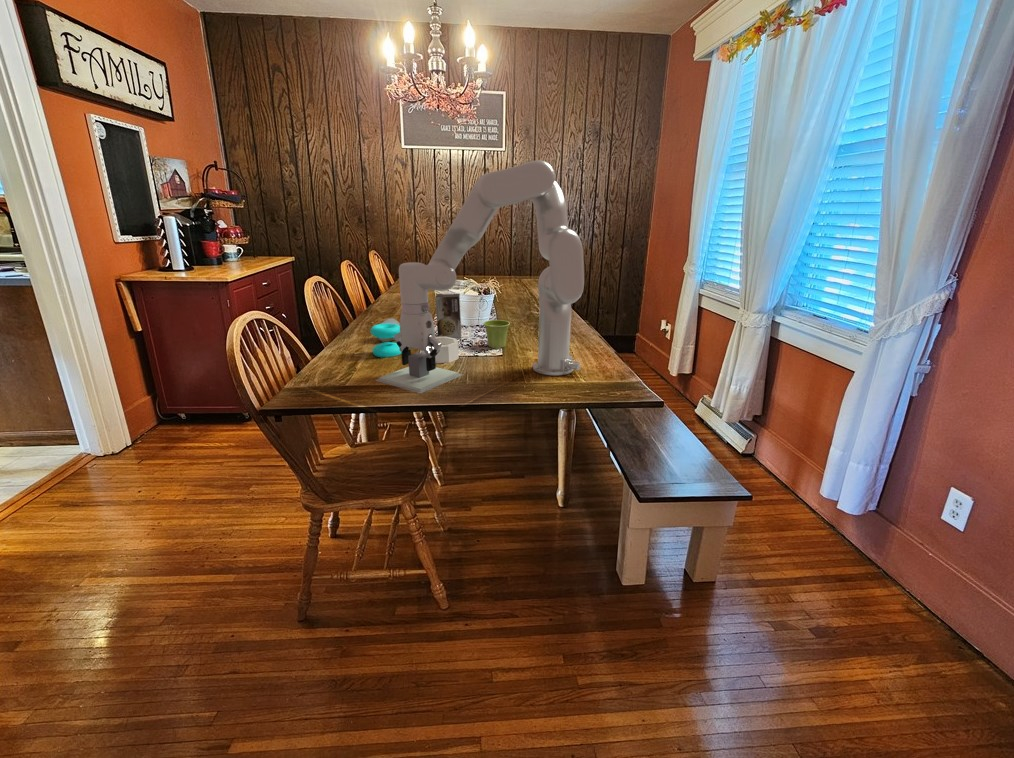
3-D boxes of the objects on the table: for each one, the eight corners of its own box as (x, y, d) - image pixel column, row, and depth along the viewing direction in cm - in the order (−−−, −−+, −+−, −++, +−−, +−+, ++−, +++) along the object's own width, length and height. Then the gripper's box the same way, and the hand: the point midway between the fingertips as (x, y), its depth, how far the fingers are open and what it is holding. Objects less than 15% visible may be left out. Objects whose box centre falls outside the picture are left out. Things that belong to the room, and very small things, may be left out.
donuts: (374, 322, 164) (403, 322, 164) (377, 350, 168) (405, 350, 168) (366, 329, 155) (397, 329, 155) (369, 358, 158) (399, 359, 158)
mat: (463, 376, 142) (462, 374, 142) (421, 395, 128) (420, 393, 128) (418, 365, 152) (418, 363, 152) (374, 382, 138) (374, 380, 138)
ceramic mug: (374, 342, 176) (373, 322, 174) (383, 337, 184) (382, 317, 181) (402, 344, 175) (401, 324, 172) (410, 338, 182) (409, 319, 180)
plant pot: (507, 350, 168) (507, 326, 165) (481, 349, 169) (481, 325, 166) (511, 343, 176) (511, 320, 173) (486, 342, 178) (486, 319, 175)
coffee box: (461, 334, 189) (460, 293, 183) (461, 338, 183) (460, 296, 177) (438, 334, 188) (436, 293, 183) (437, 338, 182) (435, 296, 176)
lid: (458, 375, 142) (457, 353, 140) (420, 391, 129) (419, 367, 127) (418, 365, 150) (417, 344, 148) (379, 379, 138) (377, 357, 135)
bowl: (465, 357, 160) (464, 340, 158) (441, 367, 150) (440, 348, 148) (438, 351, 166) (437, 334, 164) (413, 360, 157) (412, 342, 155)
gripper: (447, 309, 131) (450, 368, 137) (402, 302, 140) (406, 358, 146) (429, 314, 125) (432, 376, 131) (383, 307, 134) (388, 364, 140)
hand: (418, 366), depth 139 cm, fingers open, 9 cm apart
